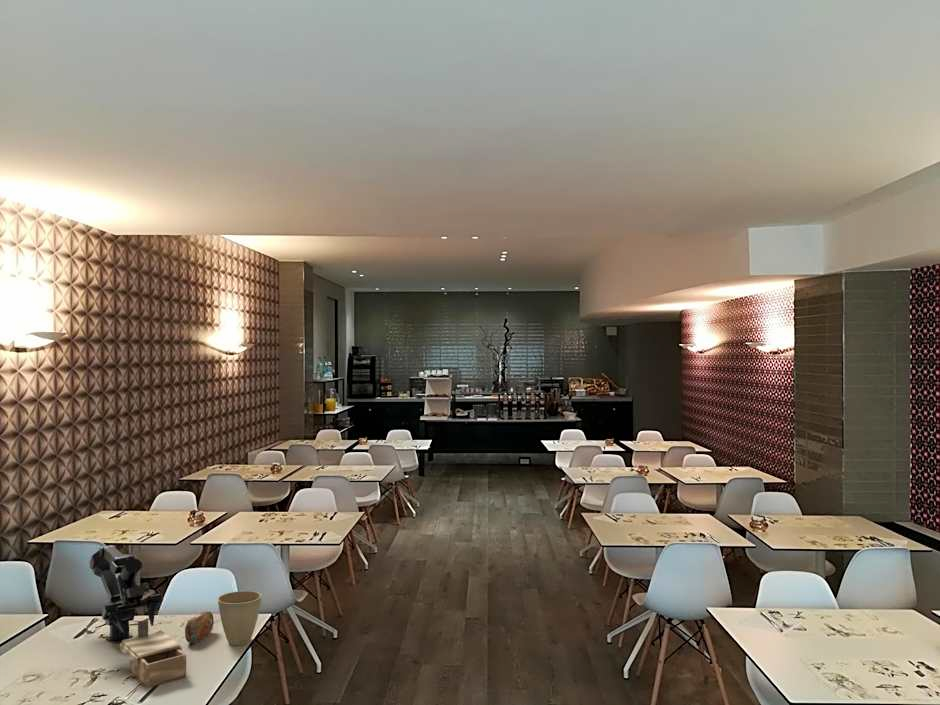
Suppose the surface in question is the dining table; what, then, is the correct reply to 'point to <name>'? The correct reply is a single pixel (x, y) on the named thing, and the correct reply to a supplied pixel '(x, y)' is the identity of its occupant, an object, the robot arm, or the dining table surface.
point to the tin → (199, 627)
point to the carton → (160, 667)
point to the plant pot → (239, 615)
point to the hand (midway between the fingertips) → (138, 628)
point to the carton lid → (147, 643)
